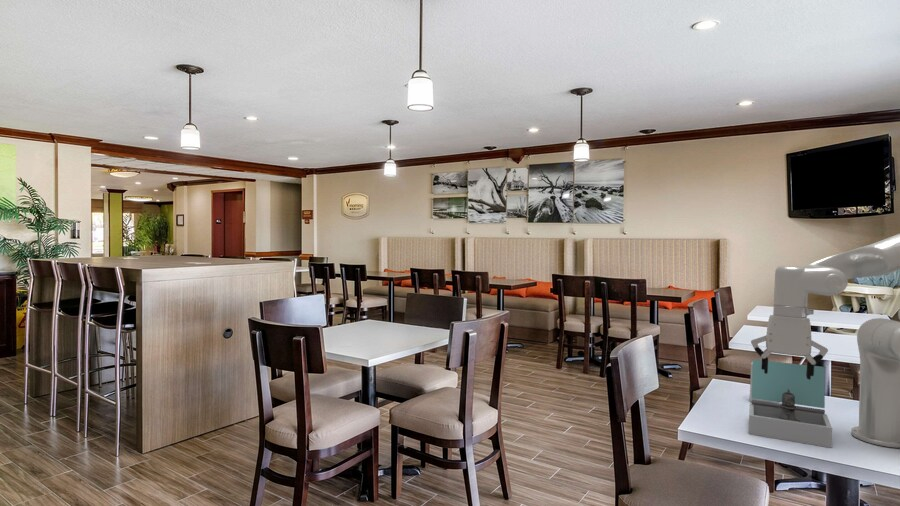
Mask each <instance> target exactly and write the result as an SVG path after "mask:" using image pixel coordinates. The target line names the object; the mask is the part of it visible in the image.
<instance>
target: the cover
mask: <svg viewBox="0 0 900 506" xmlns="http://www.w3.org/2000/svg"><path fill="white" fill-rule="evenodd" d="M752 362H753V367H752V398H754V399H761V400H768V401H776V402H779V403H773V402H765V401H758V400H752V402H751V404H756V405H763V406H770V407H777V408H782V407H781V406H780V405H781V404H782V394H783V393H785V392H788V391H787V390H788V389H789V390H790V393H792V394H793V395H794V396H795V407H796V409H795V410H798V411H804V412H811V413H818V414H826V410H825V408H826V407H825V405H826V403H825V402H826V401H825V400H826V399H825V398H826V397H825V395H826V392H825V389H826V386H825V385H826V384H825V383H826V382H825V381H826V380H825V378H826V376H825V373H826V371H825V370H826V369H825V368H826V367H825V366H819V365H814V376H811V379H807V377H806V372H807V364H802V363H801V364H798V363H790V362H780V361H772V360H768V373H767V374H765V373H764V370H763V369H762V359H755V358H754V359H752Z"/></svg>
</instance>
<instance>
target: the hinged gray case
mask: <svg viewBox="0 0 900 506" xmlns="http://www.w3.org/2000/svg"><path fill="white" fill-rule="evenodd" d="M781 409H782V408H777V407H770V406H763V405H756V404H752V402H750V403H749V415H748V434H749V435H753V436H754V435H755V436H758V437H763V438H764V437H765V438H771V439H777V440H782V441H789V442H794V443H800V444H807V445H812V446H819V447H824V448H830V449H831V448H833V446H832V445H833V427H832V424H831V422H830V420H829V417H828V415H827V414H826V413H825V414H818V413H811V412H804V411H798V410H795V418H796V419H797V420H799V421H800V422H796V421H789V420H783V419H776V417H779V416H781Z"/></svg>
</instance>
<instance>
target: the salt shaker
mask: <svg viewBox="0 0 900 506" xmlns="http://www.w3.org/2000/svg"><path fill="white" fill-rule="evenodd" d="M787 391H788V392H785V393H783V394H782V402H781V403H780V404H781V405H780V406H781V407H782V409H781V416H779V417H776V419H783V420H789V421H796V422H800V421H799V420H797V419H796V418H795V409H796V407H795V406H796V404H795V396H794V395H793V394H792V393H790V390H789V389H788V390H787Z"/></svg>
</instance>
